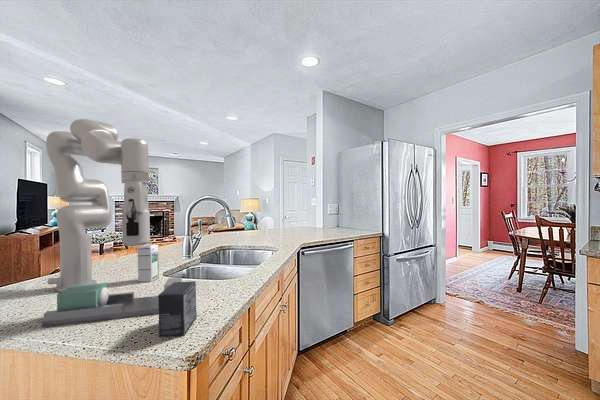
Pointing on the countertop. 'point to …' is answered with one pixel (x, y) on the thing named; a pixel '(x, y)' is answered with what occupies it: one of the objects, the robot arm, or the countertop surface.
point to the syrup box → (148, 263)
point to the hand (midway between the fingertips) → (136, 233)
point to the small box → (177, 309)
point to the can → (143, 230)
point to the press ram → (82, 296)
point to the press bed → (128, 311)
